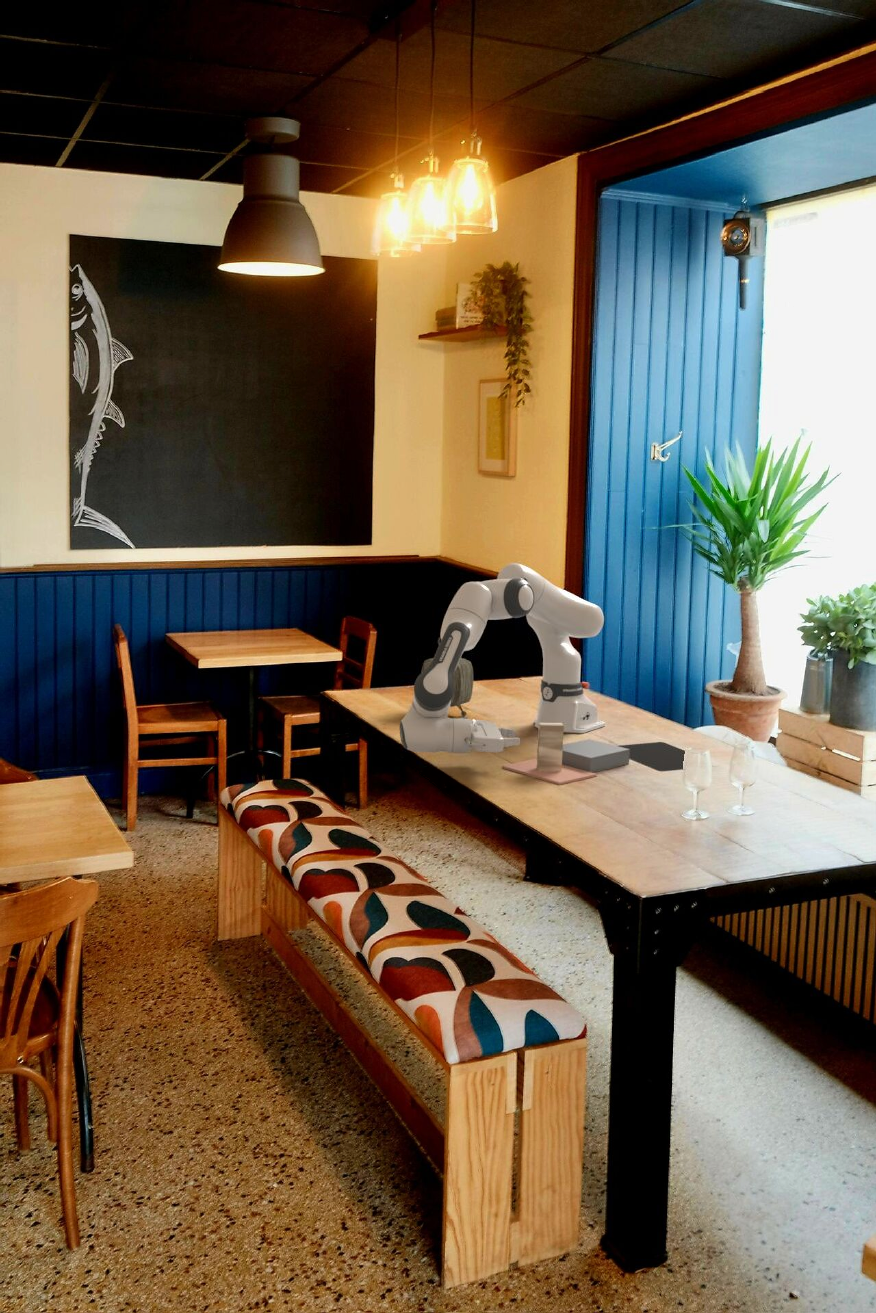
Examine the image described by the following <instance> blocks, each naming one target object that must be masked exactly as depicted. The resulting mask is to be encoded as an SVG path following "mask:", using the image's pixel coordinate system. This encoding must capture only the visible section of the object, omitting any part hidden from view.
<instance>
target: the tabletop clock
mask: <svg viewBox="0 0 876 1313" xmlns="http://www.w3.org/2000/svg"><path fill="white" fill-rule="evenodd" d="M440 641H441V636H440V637H438V639H437V644H438V646H439V645H440V643H441V642H440ZM433 659H434V657H433V658H428V659H425V660H424V662H423V663H422V666H421V673H422V672H423V671H424V670H425V669H426V668H428V667H429V665H430V664H431V663H432V661H433ZM472 664H473V663H472V662H471V661H470V660H469V659H468V660H467V659H466V658H462V657H461V658H460V660H459V663H458V665H457V668H456V670H455V672H454V694H453V697H452V699H451V704H450V708H453V707H457V708H458V709H459V710H460V711H461V713H460V715H461V717H466V715H467V711H465V710H463V708H462V706H461V705H463V704H467V703H469V702H470V701H471V699H472V696H473V689H474V668H473V665H472ZM421 673H420V674H421Z"/></svg>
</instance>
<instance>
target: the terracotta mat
mask: <svg viewBox="0 0 876 1313" xmlns="http://www.w3.org/2000/svg"><path fill="white" fill-rule="evenodd" d="M501 768H502V769H505V770H508V771H511V772H514V773H517V774H518V773H519V774H522V775H524V776H528V777H532V778H535V779H539V780H542V781H545V782H549V783H552V784H555V785H558V786H562V785H565V784H570V783H574V782H577V781H578V782H579V781H582V780H586V779H590V778H594V777H597V775H598V774H597V773H596V772H592V773H591V772H588V771H584V770H581V769H577V768H573V767H570V766H566V765H563V764H562V770H561V771H538V770H537V757H536V758H532V759H527V760H523V761H519V762H513V763H508V764H504V765H501Z"/></svg>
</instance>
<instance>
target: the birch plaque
mask: <svg viewBox="0 0 876 1313" xmlns="http://www.w3.org/2000/svg"><path fill="white" fill-rule="evenodd" d="M537 729H538V730H537V731H538V734H537V747H536V748H537V749H536V753H537V754H536V758H537V770H538V771H561V770H562V751H563V744H564V733H565V732H564V725H563V724H562V723H539V727H538V728H537Z"/></svg>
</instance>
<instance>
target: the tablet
mask: <svg viewBox="0 0 876 1313" xmlns="http://www.w3.org/2000/svg"><path fill="white" fill-rule="evenodd" d="M618 746H619V747H623V748H627V749H630V755H629V760H631V761H634V762H636V763H638V764H640V763H641V764H640V765H643V766H646V767H648V768H650V769H653V770H655V771H658V772H670V771H680V770H684V769H683V761H684V754H685V751H686V750H684V749H682V748H679V747H676V746H674V745H672V744H669V743H666V742H665V741H657V742H645V743H633V744H622V745H621V744H620V745H618Z"/></svg>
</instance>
